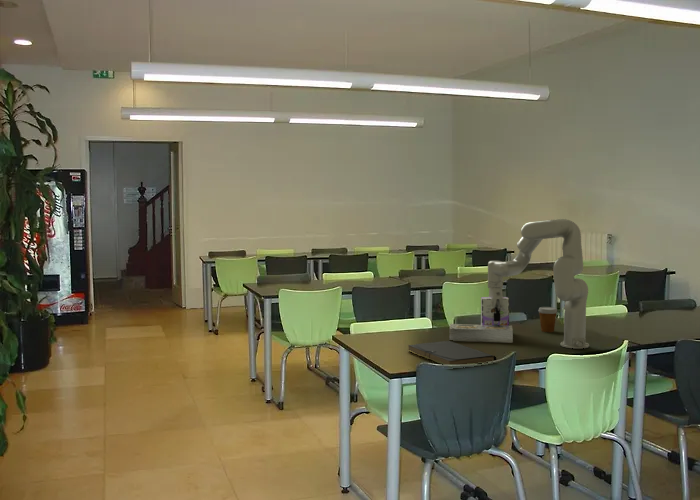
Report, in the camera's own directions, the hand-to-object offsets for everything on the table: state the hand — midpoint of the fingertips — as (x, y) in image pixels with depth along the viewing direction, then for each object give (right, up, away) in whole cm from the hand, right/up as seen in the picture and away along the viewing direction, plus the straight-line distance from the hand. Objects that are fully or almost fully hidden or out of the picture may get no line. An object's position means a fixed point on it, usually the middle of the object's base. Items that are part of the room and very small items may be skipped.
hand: (495, 319), depth 343 cm
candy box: (0, -5, +1) cm, 5 cm away
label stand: (-10, -8, -14) cm, 19 cm away
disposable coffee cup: (+28, -7, +3) cm, 29 cm away
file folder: (-30, -12, -49) cm, 59 cm away
